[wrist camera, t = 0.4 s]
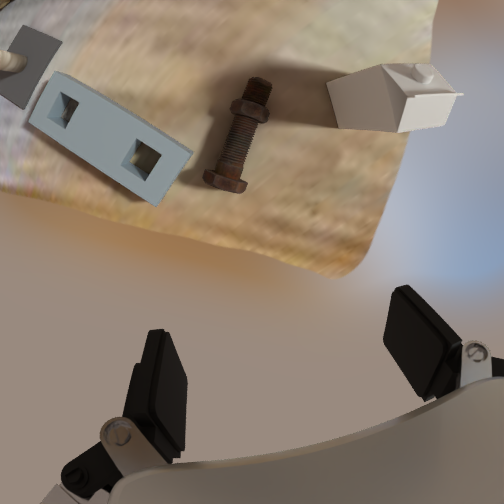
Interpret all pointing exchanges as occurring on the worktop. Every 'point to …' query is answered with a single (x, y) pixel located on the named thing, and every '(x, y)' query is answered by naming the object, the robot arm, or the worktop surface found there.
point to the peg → (12, 61)
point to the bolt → (240, 137)
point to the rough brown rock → (3, 3)
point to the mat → (28, 64)
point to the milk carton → (392, 98)
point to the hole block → (108, 136)
